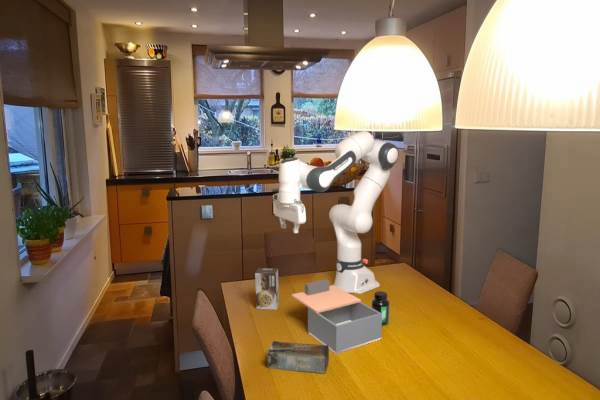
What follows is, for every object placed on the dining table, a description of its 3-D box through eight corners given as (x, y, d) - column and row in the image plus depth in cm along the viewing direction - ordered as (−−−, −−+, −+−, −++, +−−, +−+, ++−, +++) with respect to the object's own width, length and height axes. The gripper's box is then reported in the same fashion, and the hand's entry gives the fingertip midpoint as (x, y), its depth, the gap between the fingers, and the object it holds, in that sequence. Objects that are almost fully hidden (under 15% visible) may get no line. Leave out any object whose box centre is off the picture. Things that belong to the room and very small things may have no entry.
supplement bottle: (387, 327, 170) (388, 297, 168) (369, 324, 173) (370, 295, 171) (389, 320, 177) (391, 291, 175) (372, 317, 179) (373, 289, 177)
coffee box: (279, 304, 192) (279, 268, 189) (276, 310, 186) (276, 273, 183) (258, 303, 193) (257, 267, 190) (255, 309, 187) (254, 272, 184)
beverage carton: (272, 356, 150) (272, 338, 149) (329, 362, 146) (329, 343, 145) (266, 369, 142) (266, 349, 141) (326, 375, 139) (327, 355, 138)
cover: (333, 286, 184) (333, 275, 184) (360, 301, 169) (361, 289, 168) (291, 296, 174) (291, 284, 173) (316, 313, 159) (316, 300, 158)
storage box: (350, 320, 176) (351, 296, 174) (381, 339, 161) (382, 313, 159) (307, 332, 166) (307, 307, 164) (336, 354, 151) (336, 326, 149)
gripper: (310, 200, 176) (309, 234, 178) (283, 193, 193) (283, 224, 195) (296, 202, 172) (296, 236, 175) (270, 194, 189) (271, 226, 192)
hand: (289, 230), depth 185 cm, fingers open, 8 cm apart
